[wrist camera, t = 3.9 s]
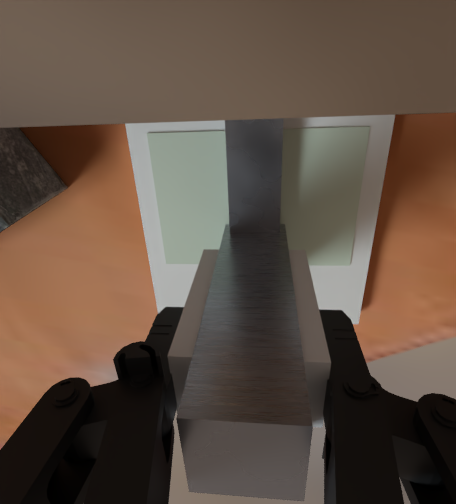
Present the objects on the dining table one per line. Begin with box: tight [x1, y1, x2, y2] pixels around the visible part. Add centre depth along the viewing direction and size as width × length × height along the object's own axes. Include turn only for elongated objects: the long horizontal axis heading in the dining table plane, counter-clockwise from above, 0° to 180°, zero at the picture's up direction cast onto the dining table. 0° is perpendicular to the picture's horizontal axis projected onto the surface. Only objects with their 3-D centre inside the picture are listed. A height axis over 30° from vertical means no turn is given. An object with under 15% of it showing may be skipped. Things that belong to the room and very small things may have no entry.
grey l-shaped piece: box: [177, 118, 313, 501], centre depth 10 cm, size 16×5×11 cm, turn 3°
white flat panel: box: [125, 115, 395, 324], centre depth 14 cm, size 27×12×1 cm, turn 3°
